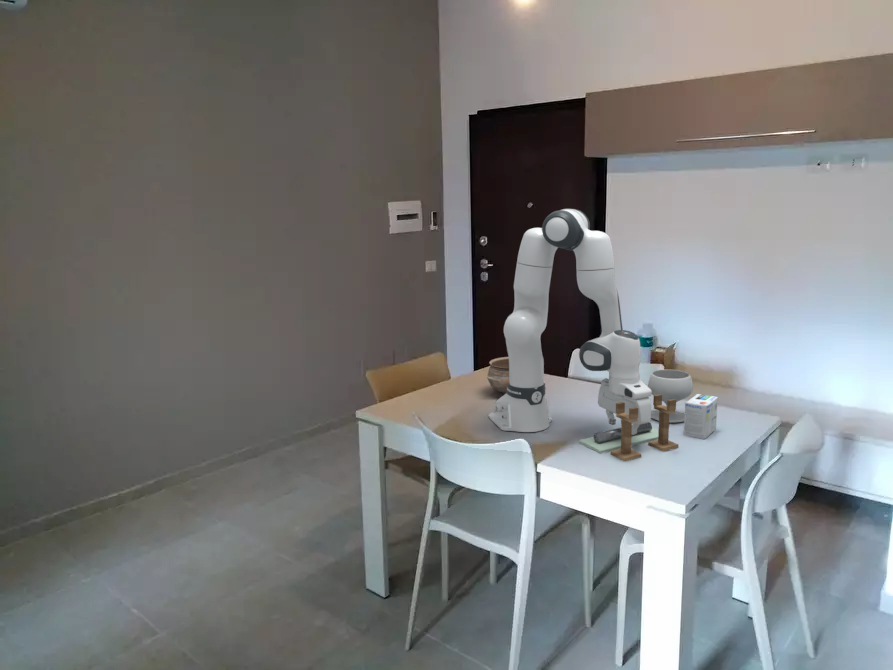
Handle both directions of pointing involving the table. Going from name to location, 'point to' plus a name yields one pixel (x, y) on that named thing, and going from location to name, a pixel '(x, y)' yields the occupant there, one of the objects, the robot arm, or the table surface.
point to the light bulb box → (700, 416)
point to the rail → (619, 433)
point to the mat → (616, 443)
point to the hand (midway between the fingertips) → (622, 429)
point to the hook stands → (627, 420)
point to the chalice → (671, 389)
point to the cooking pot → (499, 374)
